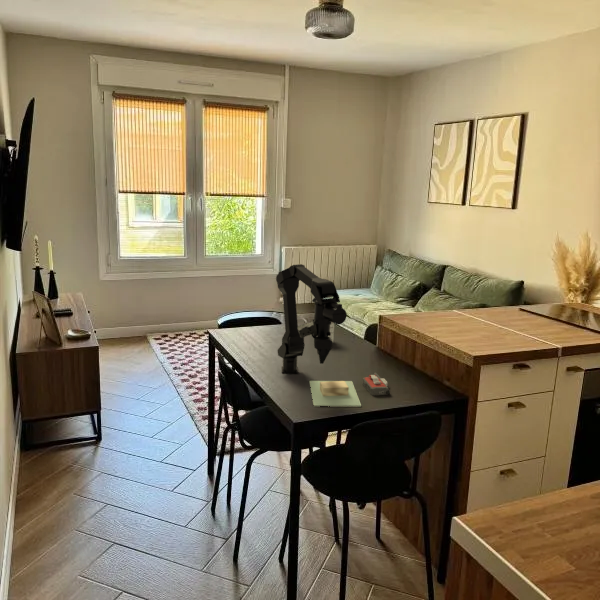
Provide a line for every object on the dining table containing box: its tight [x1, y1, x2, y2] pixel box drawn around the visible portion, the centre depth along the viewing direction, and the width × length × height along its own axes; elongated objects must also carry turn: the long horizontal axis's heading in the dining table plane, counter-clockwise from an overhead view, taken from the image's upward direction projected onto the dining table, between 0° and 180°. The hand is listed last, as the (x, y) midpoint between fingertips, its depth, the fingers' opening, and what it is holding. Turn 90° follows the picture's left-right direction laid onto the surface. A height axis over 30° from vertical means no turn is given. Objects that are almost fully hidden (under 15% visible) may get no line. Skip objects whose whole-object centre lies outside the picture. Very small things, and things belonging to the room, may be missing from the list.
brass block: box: [320, 380, 349, 396], centre depth 189 cm, size 9×6×3 cm, turn 99°
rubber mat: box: [308, 380, 362, 408], centre depth 190 cm, size 22×16×1 cm
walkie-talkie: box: [361, 372, 391, 396], centre depth 198 cm, size 9×4×20 cm
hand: (320, 358), depth 191 cm, fingers open, 9 cm apart
